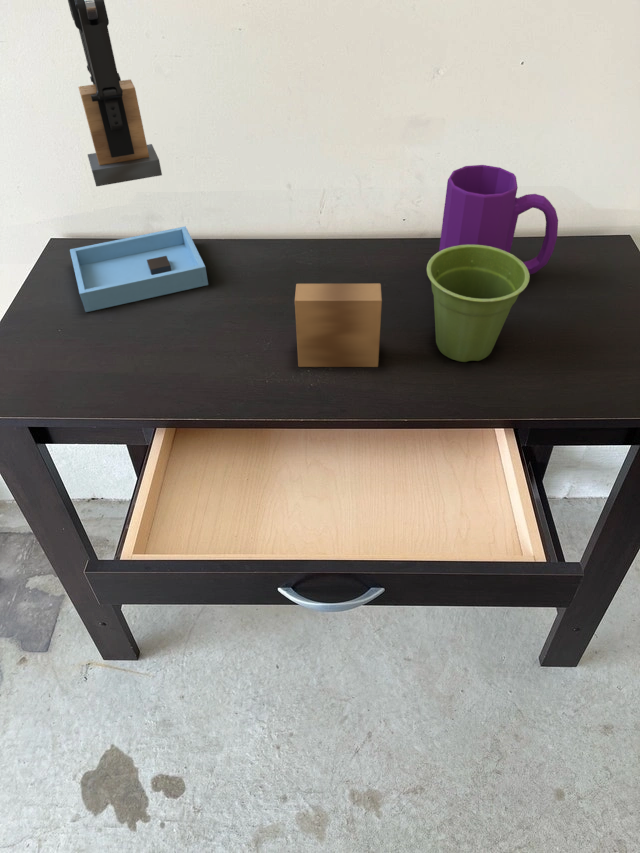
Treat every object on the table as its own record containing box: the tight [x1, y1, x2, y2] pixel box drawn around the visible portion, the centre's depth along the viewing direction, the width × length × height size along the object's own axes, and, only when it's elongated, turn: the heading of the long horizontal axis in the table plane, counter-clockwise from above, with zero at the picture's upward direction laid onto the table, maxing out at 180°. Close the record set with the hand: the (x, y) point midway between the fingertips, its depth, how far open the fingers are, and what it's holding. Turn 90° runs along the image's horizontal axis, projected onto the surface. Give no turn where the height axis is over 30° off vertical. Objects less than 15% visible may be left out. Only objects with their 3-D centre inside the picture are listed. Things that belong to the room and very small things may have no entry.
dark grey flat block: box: [147, 256, 172, 275], centre depth 98 cm, size 3×3×1 cm
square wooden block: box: [294, 282, 383, 368], centre depth 80 cm, size 10×4×10 cm, turn 89°
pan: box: [69, 225, 209, 313], centre depth 97 cm, size 18×13×3 cm
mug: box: [438, 164, 559, 275], centre depth 90 cm, size 9×16×15 cm, turn 82°
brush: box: [78, 79, 163, 187], centre depth 78 cm, size 8×5×10 cm, turn 110°
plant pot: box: [426, 245, 531, 363], centre depth 81 cm, size 12×12×11 cm
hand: (120, 148), depth 80 cm, fingers closed on brush, 3 cm apart
